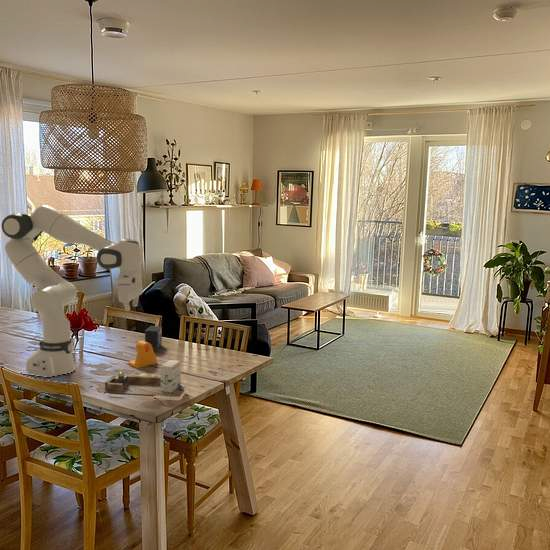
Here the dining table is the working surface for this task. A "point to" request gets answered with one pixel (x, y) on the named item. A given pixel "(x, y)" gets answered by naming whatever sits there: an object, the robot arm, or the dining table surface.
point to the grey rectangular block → (121, 379)
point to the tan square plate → (146, 374)
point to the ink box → (170, 375)
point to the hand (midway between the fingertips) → (131, 308)
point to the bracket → (143, 355)
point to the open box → (131, 379)
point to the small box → (154, 336)
